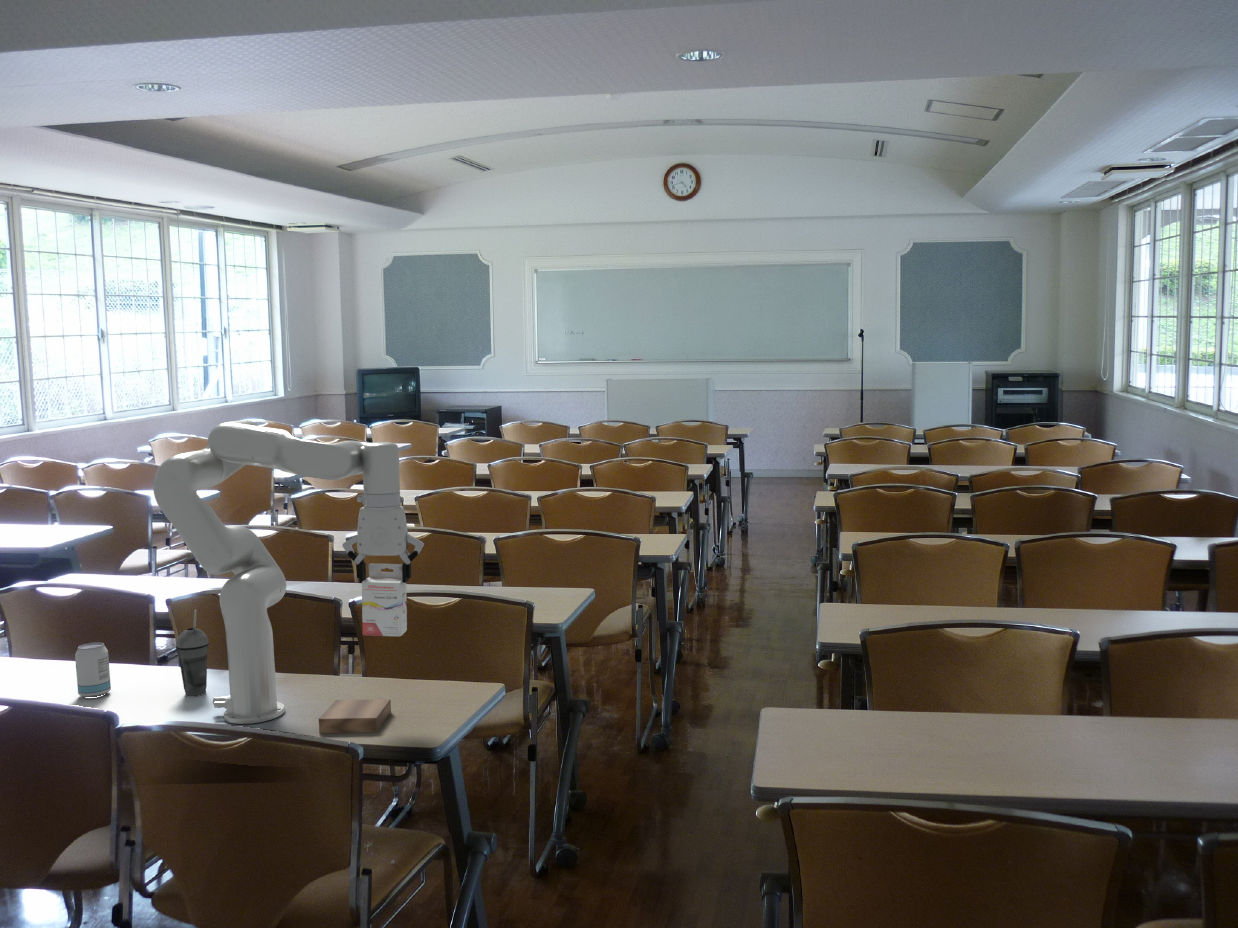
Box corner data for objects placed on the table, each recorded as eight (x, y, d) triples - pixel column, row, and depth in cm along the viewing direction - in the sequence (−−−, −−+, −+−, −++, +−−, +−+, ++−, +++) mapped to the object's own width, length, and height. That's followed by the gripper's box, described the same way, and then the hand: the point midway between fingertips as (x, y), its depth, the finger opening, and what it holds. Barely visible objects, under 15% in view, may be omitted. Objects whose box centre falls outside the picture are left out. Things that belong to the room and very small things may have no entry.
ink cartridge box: (361, 636, 223) (359, 567, 222) (369, 629, 228) (367, 562, 227) (401, 636, 222) (399, 568, 221) (407, 630, 227) (406, 563, 226)
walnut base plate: (319, 732, 218) (318, 718, 218) (336, 713, 230) (335, 699, 230) (377, 731, 218) (376, 717, 217) (391, 712, 229) (390, 698, 229)
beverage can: (85, 691, 251) (81, 642, 250) (115, 690, 251) (111, 640, 250) (73, 700, 244) (69, 650, 243) (104, 699, 245) (100, 648, 243)
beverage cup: (178, 691, 249) (172, 608, 247) (211, 686, 252) (205, 604, 250) (179, 700, 242) (173, 614, 240) (213, 695, 245) (207, 610, 243)
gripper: (336, 503, 219) (338, 585, 220) (419, 503, 218) (421, 585, 220) (345, 498, 226) (348, 577, 228) (426, 498, 226) (428, 577, 228)
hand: (384, 581), depth 224 cm, fingers closed on ink cartridge box, 8 cm apart
